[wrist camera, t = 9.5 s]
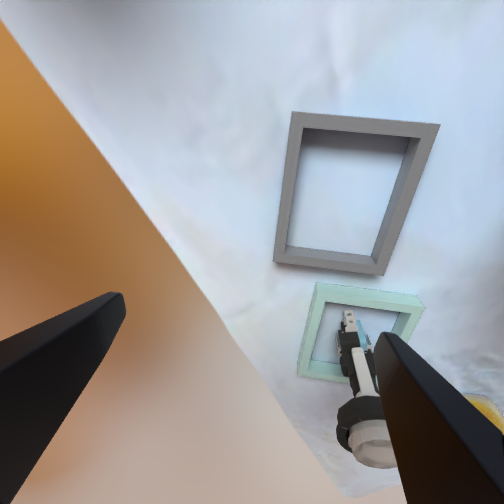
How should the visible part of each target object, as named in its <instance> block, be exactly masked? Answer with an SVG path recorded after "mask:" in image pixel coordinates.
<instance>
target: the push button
mask: <svg viewBox="0 0 504 504" xmlns="http://www.w3.org/2000/svg"><path fill="white" fill-rule="evenodd" d="M347 313H351V315H350V316H347ZM344 315H345V320H343V321H344V322H341V328H342V330H338V332H339V338H340V344H341V347H338V342H337V337H336V343H337V348H338V353H339V356H341V357H340V365H341V371H342V374H343V376H344V377H349V381H350V385H351V388H352V390H353V395H354V398H353V399H351V400H350V401H348V402H347V403H346V404H344V405H343V406H342V407H340V408H339V410H338V415H337V420H338V425H337V428H336V434H337V439H338V442H339V443H340V445H341V446H342V447H343V448H345V449H346V450H347V451H349V452H351V453H353V455H354V457H355V458H356V460H357V461H358V462H360V463H362V464H364V465H366V466H368V467H374V468H381V469H385V468H386V469H389V468H395V467H398V466H397V463H396V459H395V455H394V451H393V447H392V444H391V440H390V436H389V432H388V428H387V425H386V421H385V417H384V413H383V409H382V405H381V401H380V395H379V390H378V387H377V384H376V369H375V362H374V355H373V352H372V344H371V340H370V337H369V335H367V336H368V344H369V346H367V341H366V337H365V335H364V332H363V329H362V326H361V323H360V321H356V318H355V317H354V312H353V310H345V311H344Z"/></svg>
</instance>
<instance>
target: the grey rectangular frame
mask: <svg viewBox="0 0 504 504" xmlns="http://www.w3.org/2000/svg"><path fill="white" fill-rule="evenodd" d="M440 125H441V124H433V123H423V122H411V121H400V120H388V119H376V118H365V117H353V116H341V115H329V114H318V113H306V112H294V111H292V116H291V124H290V132H289V139H288V147H287V155H286V162H285V170H284V178H283V186H282V193H281V201H280V209H279V217H278V224H277V232H276V240H275V247H274V255H273V262H280V263H288V264H296V265H303V266H311V267H319V268H326V269H334V270H342V271H349V272H357V273H365V274H372V275H380V276H384V274H385V271H386V268H387V266H388V263H389V260H390V258H391V255H392V252H393V250H394V247H395V245H396V242H397V239H398V237H399V234H400V231H401V229H402V226H403V223H404V221H405V218H406V215H407V213H408V210H409V207H410V205H411V202H412V199H413V197H414V194H415V191H416V189H417V186H418V183H419V181H420V178H421V175H422V173H423V170H424V168H425V165H426V162H427V160H428V157H429V154H430V152H431V149H432V146H433V144H434V141H435V138H436V136H437V133H438V130H439V128H440ZM303 127H304V128H315V129H326V130H337V131H348V132H360V133H371V134H382V135H393V136H404V137H411V138H410V141H409V144H408V147H407V150H406V153H405V156H404V159H403V162H402V165H401V168H400V171H399V174H398V177H397V180H396V183H395V186H394V189H393V192H392V195H391V198H390V201H389V204H388V207H387V210H386V213H385V216H384V219H383V222H382V225H381V228H380V231H379V234H378V237H377V240H376V243H375V246H374V249H373V252H372V255H371V256H366V255H358V254H350V253H342V252H334V251H326V250H318V249H310V248H302V247H294V246H286V238H287V231H288V225H289V218H290V212H291V205H292V198H293V192H294V185H295V179H296V172H297V165H298V159H299V152H300V145H301V139H302V132H303Z"/></svg>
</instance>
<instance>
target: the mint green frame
mask: <svg viewBox="0 0 504 504" xmlns="http://www.w3.org/2000/svg"><path fill="white" fill-rule="evenodd" d="M325 301H326V302H333V303H340V304H347V305H355V306H362V307H369V308H376V309H383V310H390V311H397V312H400V314H399V316H398V318H397V320H396V323H395V325H394V327H393V329H392V332H391V333H395V334H397V335H398V336H399V337H400V338H401V339H402V340H403V341H404V342H406V343H408V341H409V339H410V337H411V335H412V333H413V331H414V329H415V327H416V325H417V323H418V321H419V319H420V317H421V315H422V313H423V311H424V309H425V306H424V304H423V303H422V301H421V300H420V298H419V297H418V296H415V295H408V294H401V293H393V292H386V291H378V290H371V289H363V288H356V287H348V286H341V285H334V284H326V283H319V282H316V285H315V289H314V294H313V298H312V302H311V306H310V311H309V315H308V319H307V324H306V328H305V332H304V337H303V341H302V345H301V350H300V354H299V358H298V363H297V369H298V376H305V377H311V378H317V379H323V380H329V381H335V382H341V383H348V384H350V381H349V377H344V376H343V374H342V371H341V365H340V364H333V363H327V362H321V361H314V360H310V358H311V354H312V350H313V346H314V343H315V339H316V335H317V331H318V327H319V324H320V320H321V316H322V312H323V308H324V305H325ZM376 384H377V387H378V382H377V376H376Z"/></svg>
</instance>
